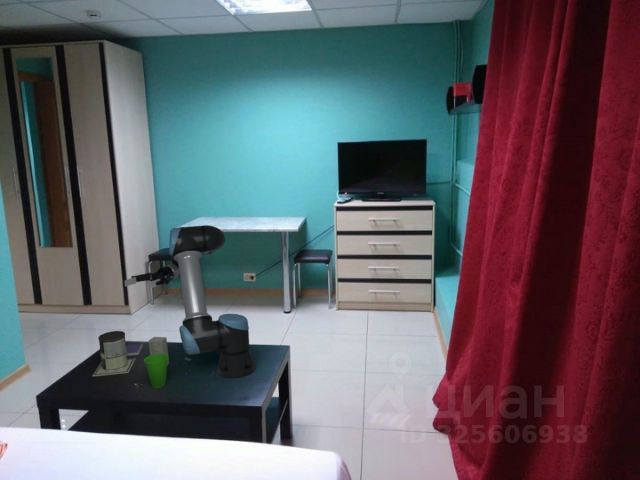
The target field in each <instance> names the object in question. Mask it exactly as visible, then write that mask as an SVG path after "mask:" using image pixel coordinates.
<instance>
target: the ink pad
mask: <svg viewBox="0 0 640 480" xmlns="http://www.w3.org/2000/svg"><path fill="white" fill-rule="evenodd" d="M143 346H144V343H133V344H126V351H127V357H128V356H137V355H138V356H139V355H140V353H141V351H142V349H143Z"/></svg>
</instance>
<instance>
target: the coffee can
mask: <svg viewBox="0 0 640 480" xmlns="http://www.w3.org/2000/svg"><path fill="white" fill-rule="evenodd" d="M98 343H99V344H98V345H99V351H100V361H101V362H102V370H103V371H106V372H113V371H118V370H121V369H123V368H125V367H126V366H127V365H128V361H127V359H128V356H127V351H126V345H127V341H126V332H124V331H121V330H112V331H107V332H104V333H102V334H100V335H99V336H98ZM101 362H100V363H101Z"/></svg>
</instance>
